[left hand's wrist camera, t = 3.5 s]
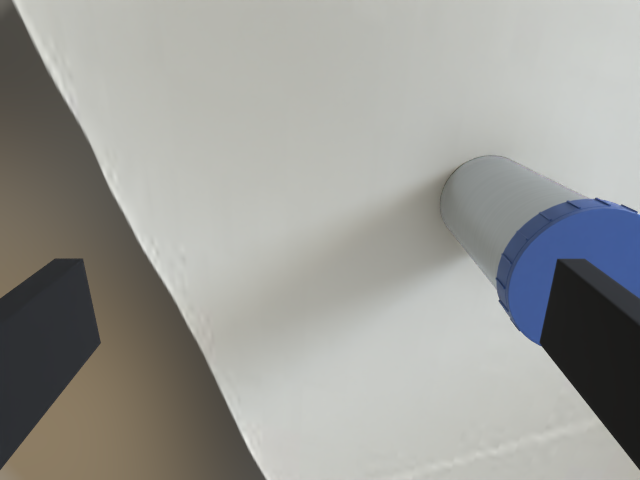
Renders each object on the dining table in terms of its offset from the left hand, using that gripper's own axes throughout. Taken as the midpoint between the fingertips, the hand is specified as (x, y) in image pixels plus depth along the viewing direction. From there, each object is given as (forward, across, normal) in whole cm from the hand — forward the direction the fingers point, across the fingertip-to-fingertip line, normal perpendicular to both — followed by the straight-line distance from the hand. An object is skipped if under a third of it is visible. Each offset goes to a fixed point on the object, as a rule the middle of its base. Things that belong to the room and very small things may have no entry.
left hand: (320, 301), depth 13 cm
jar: (+28, +15, -5) cm, 32 cm away
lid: (+12, +15, -5) cm, 20 cm away
